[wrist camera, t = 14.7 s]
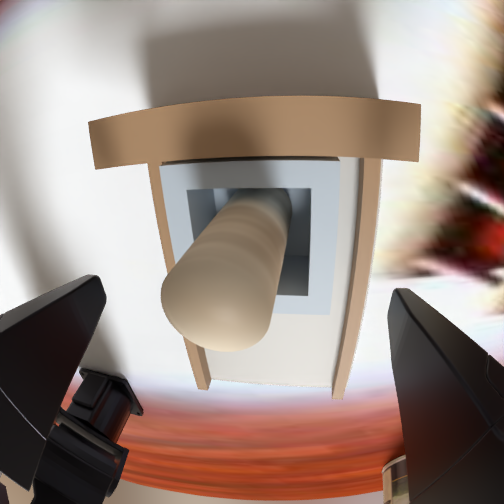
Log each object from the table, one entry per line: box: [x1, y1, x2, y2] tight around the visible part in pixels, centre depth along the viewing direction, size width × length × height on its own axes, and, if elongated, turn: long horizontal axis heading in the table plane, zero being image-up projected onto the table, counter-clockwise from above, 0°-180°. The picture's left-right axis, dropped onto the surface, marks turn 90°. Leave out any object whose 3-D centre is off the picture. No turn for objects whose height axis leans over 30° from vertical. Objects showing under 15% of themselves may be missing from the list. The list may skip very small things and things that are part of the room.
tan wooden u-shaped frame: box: [88, 96, 421, 399], centre depth 16 cm, size 20×12×6 cm, turn 3°
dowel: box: [161, 188, 292, 352], centre depth 11 cm, size 3×3×8 cm
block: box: [159, 156, 340, 315], centre depth 14 cm, size 7×7×4 cm
